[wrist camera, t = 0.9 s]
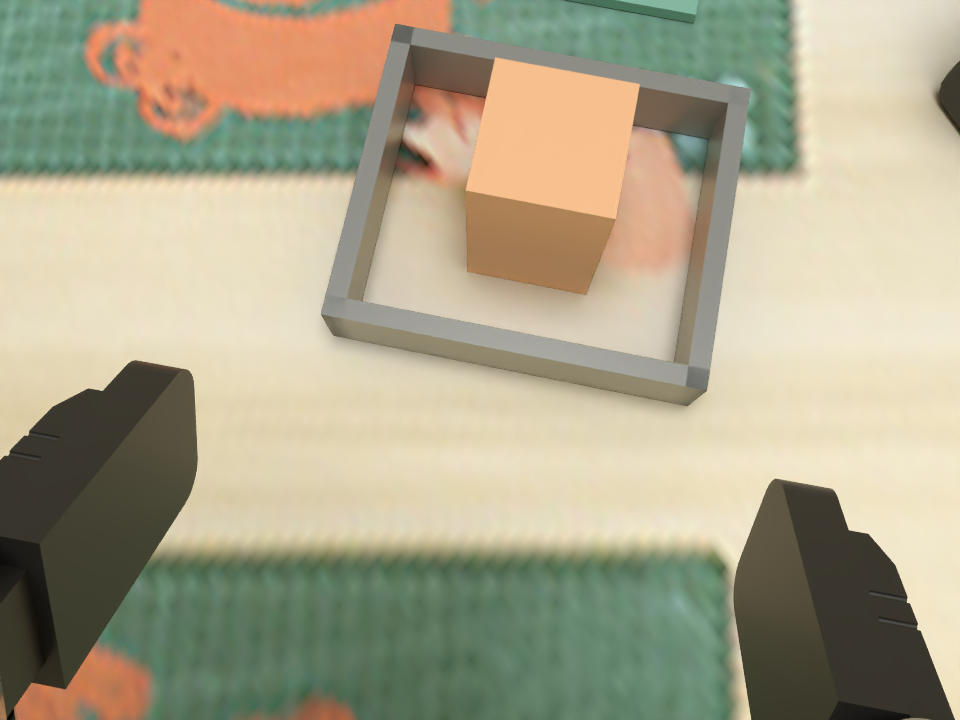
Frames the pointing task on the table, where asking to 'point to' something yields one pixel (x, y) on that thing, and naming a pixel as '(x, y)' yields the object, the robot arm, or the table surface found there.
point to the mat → (652, 7)
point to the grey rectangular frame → (681, 382)
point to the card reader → (952, 93)
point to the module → (547, 174)
